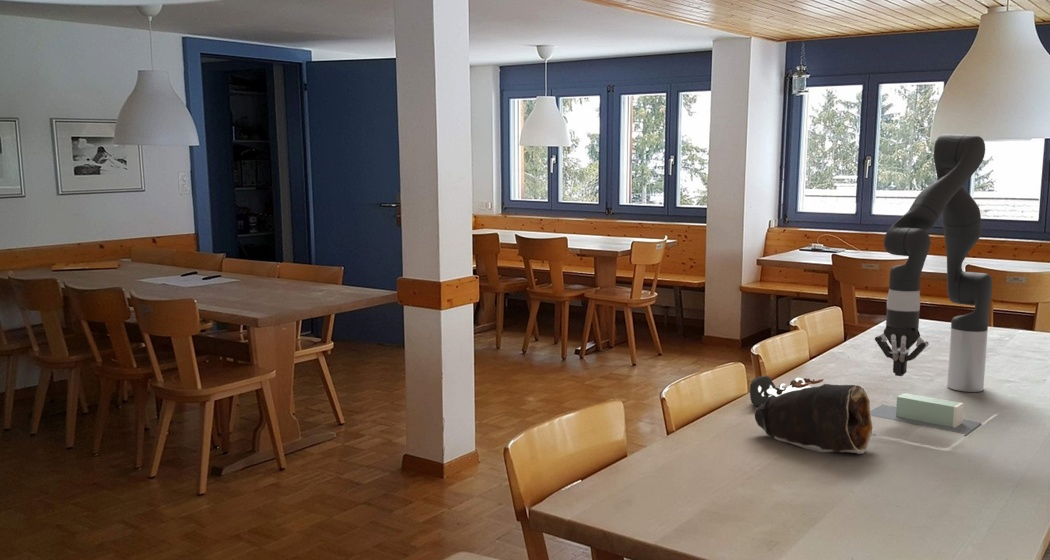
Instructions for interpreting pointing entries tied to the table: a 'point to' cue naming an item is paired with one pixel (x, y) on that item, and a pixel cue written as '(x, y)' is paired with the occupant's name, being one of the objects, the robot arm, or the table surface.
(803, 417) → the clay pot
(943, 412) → the sage block
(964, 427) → the slate mat
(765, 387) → the figurine
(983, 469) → the table surface
